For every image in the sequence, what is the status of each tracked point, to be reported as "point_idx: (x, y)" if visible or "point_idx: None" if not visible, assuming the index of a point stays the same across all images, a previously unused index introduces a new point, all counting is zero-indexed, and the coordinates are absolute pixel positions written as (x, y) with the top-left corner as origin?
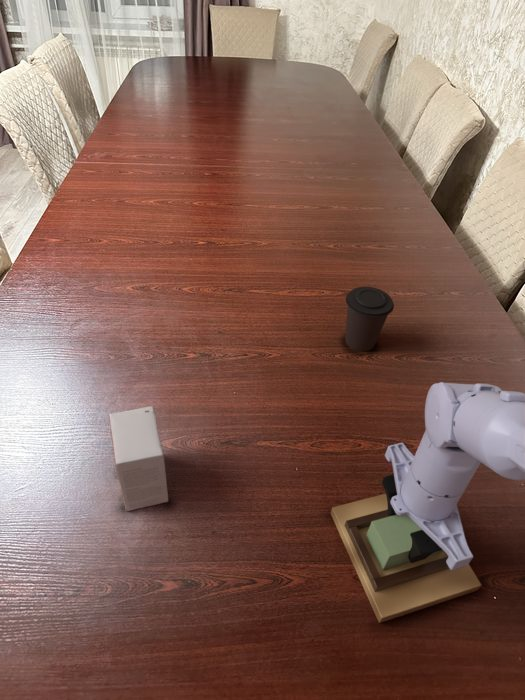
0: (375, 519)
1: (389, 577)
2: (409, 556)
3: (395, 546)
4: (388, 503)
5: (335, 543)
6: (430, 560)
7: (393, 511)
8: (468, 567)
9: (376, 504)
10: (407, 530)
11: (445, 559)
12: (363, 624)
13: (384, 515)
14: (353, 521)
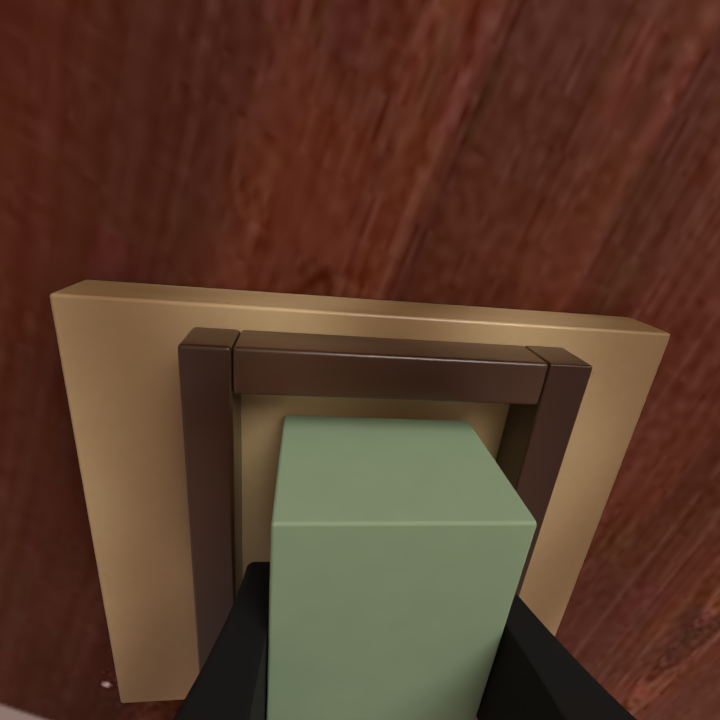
0: None
1: (215, 435)
2: (262, 591)
3: (322, 582)
4: (596, 698)
5: (501, 270)
6: None
7: (525, 674)
8: None
9: (563, 520)
10: (386, 667)
11: None
12: (94, 201)
13: None
14: (567, 401)
